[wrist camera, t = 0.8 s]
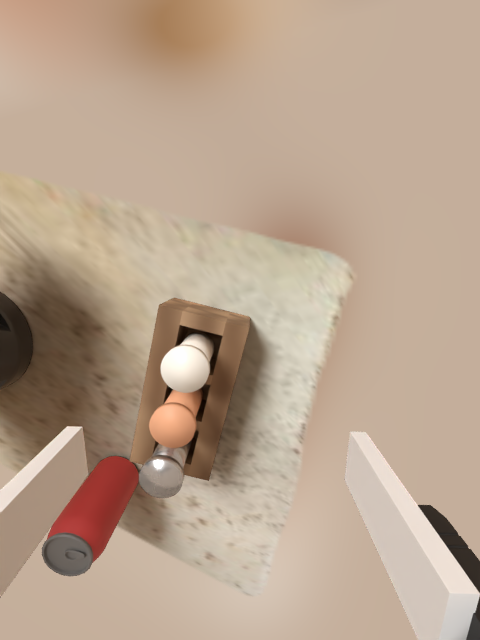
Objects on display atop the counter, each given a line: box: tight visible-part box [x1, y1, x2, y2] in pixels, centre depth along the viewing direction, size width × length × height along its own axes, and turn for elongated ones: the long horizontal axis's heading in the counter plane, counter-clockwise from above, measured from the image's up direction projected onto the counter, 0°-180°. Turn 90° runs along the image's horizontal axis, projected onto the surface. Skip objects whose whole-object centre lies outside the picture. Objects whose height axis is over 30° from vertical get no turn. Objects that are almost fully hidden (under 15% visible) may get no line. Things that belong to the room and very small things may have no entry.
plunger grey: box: [139, 438, 193, 498], centre depth 31 cm, size 4×4×7 cm
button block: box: [130, 298, 250, 481], centre depth 35 cm, size 10×20×6 cm, turn 166°
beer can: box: [42, 456, 139, 576], centre depth 35 cm, size 7×7×12 cm
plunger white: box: [161, 332, 214, 393], centre depth 28 cm, size 4×4×7 cm
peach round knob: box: [149, 388, 203, 448], centre depth 29 cm, size 4×4×7 cm
